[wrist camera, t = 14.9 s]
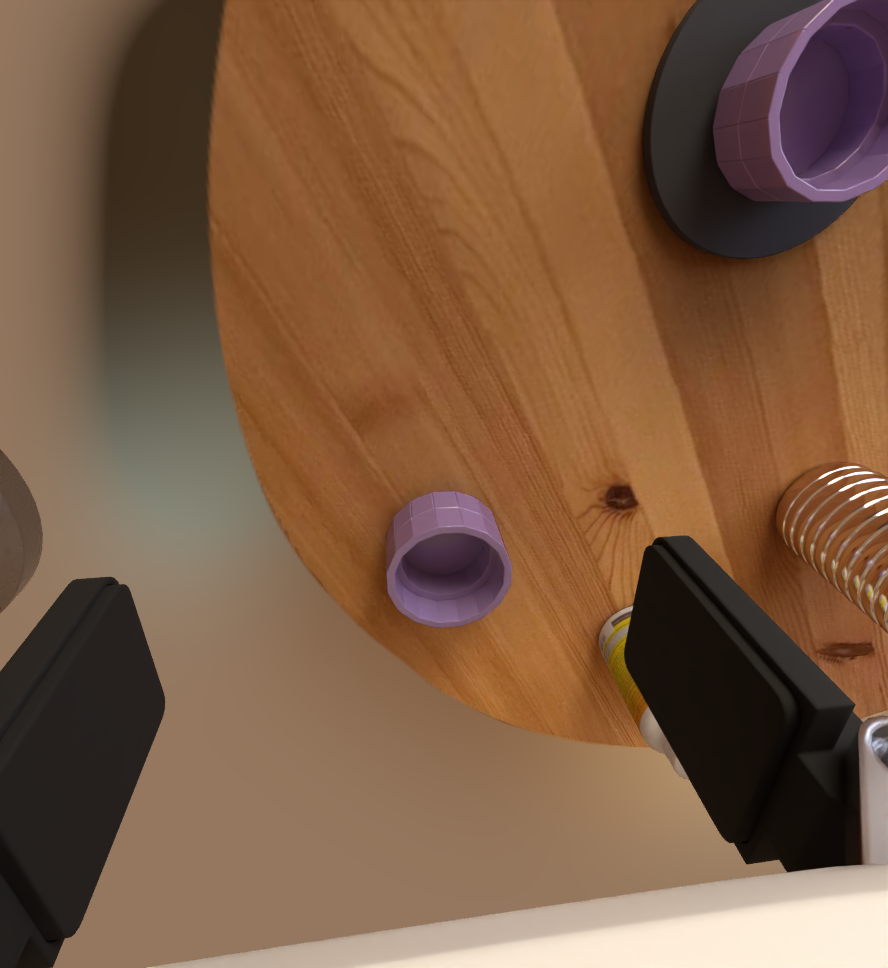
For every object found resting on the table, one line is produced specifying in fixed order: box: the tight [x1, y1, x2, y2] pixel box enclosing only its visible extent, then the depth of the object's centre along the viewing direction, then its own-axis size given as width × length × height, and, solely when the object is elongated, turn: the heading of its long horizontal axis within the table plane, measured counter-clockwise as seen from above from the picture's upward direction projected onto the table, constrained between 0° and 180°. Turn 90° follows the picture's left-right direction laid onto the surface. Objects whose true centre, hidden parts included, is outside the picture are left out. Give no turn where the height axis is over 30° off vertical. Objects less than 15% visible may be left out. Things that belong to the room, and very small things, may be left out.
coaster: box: [643, 0, 858, 259], centre depth 25 cm, size 12×12×1 cm
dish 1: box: [386, 491, 512, 628], centre depth 32 cm, size 7×7×4 cm
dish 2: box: [713, 0, 888, 202], centre depth 22 cm, size 7×7×4 cm
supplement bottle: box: [599, 606, 689, 779], centre depth 35 cm, size 6×6×10 cm
